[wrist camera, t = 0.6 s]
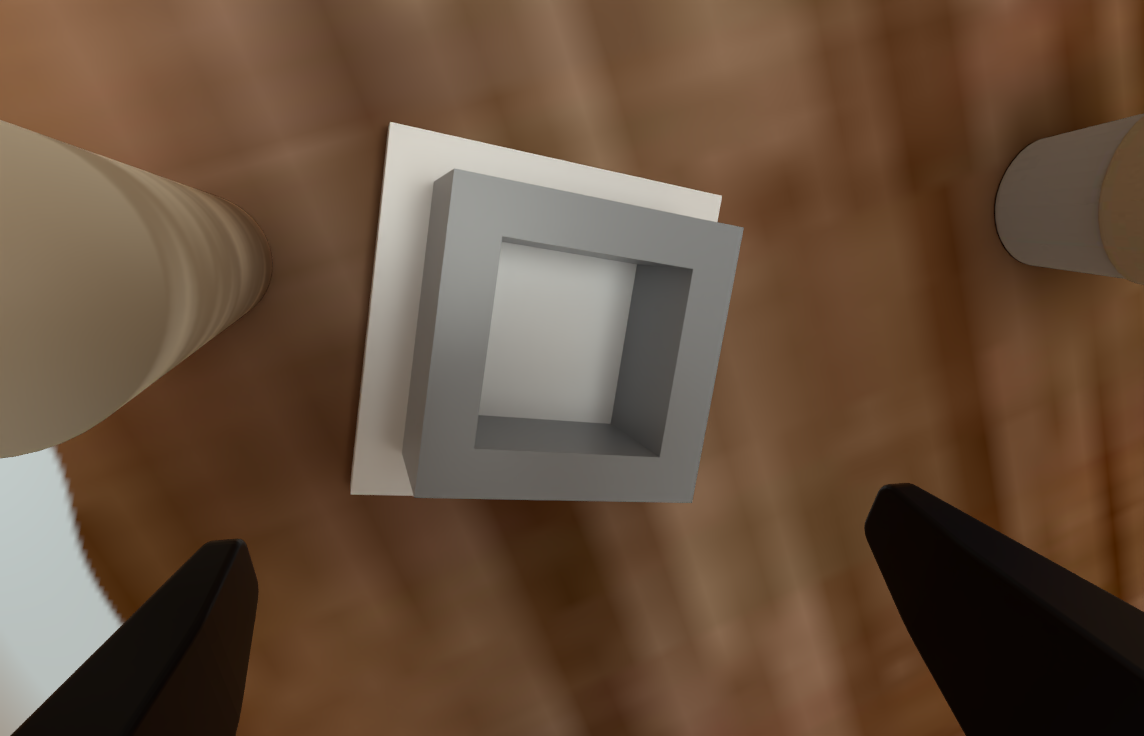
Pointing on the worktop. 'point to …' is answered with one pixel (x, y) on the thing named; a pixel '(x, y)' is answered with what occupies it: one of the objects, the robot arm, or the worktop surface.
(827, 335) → the worktop surface
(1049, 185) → the coffee cup
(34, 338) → the peg
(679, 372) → the socket
